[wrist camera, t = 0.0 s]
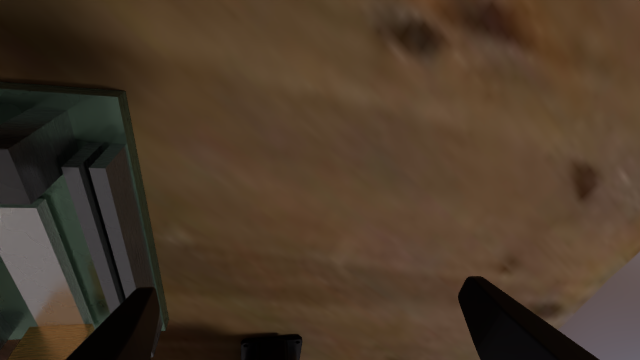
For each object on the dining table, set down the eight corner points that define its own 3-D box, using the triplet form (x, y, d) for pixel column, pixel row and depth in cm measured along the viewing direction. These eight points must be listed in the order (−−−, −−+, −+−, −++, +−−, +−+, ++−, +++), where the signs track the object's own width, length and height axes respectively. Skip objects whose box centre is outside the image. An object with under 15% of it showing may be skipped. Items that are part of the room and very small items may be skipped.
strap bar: (104, 330, 28) (72, 398, 23) (46, 333, 27) (2, 404, 22) (56, 198, 21) (-3, 260, 16) (-25, 197, 20) (-111, 262, 15)
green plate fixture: (168, 319, 30) (149, 388, 25) (-3, 327, 28) (-65, 407, 23) (125, 90, 19) (73, 131, 14) (-171, 68, 16) (-371, 108, 11)
